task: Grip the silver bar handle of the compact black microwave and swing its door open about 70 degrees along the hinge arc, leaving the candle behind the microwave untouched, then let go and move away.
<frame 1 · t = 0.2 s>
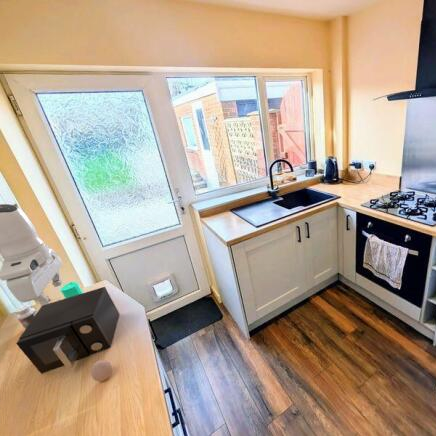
hand: (52, 293, 78), 26 cm above the countertop, tool pointing down, fingers open, 8 cm apart
microwave door: (52, 355, 79), point 8 cm above the countertop, hinge at 0.0°
microwave: (86, 339, 93), on the countertop
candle: (79, 304, 112), on the countertop
egg: (106, 377, 78), on the countertop
pill bottle: (35, 326, 102), on the countertop
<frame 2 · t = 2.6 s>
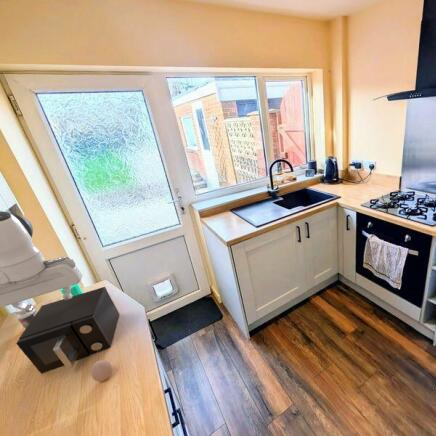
hand: (49, 304, 74), 25 cm above the countertop, tool pointing down, fingers open, 8 cm apart
nothing on the countertop moved.
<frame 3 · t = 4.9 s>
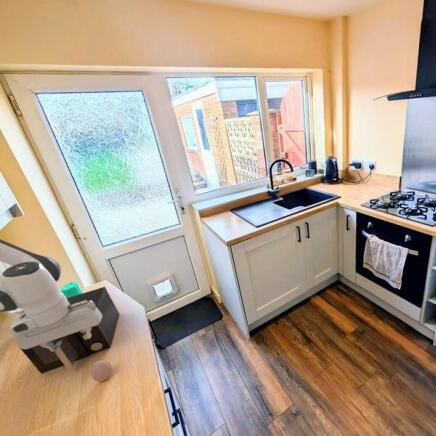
hand: (72, 343, 79), 10 cm above the countertop, tool pointing down, fingers open, 7 cm apart
microwave door: (52, 355, 79), point 8 cm above the countertop, hinge at 0.0°, touching gripper
everything else where it was.
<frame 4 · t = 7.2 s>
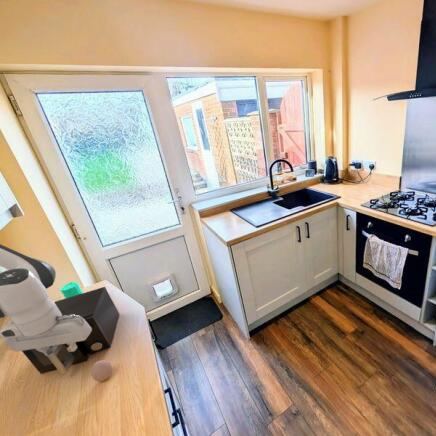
hand: (62, 351, 76), 10 cm above the countertop, tool pointing down, fingers open, 5 cm apart
microwave door: (49, 358, 78), point 8 cm above the countertop, hinge at 8.8°, touching gripper
everything else where it was.
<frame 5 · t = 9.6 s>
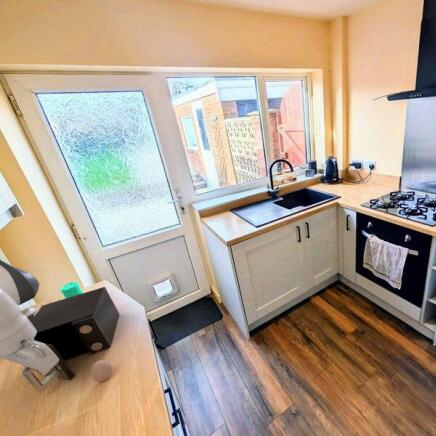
hand: (38, 370, 71), 10 cm above the countertop, tool pointing down, fingers open, 4 cm apart
microwave door: (35, 369, 75), point 8 cm above the countertop, hinge at 36.5°, touching gripper
everything else where it was.
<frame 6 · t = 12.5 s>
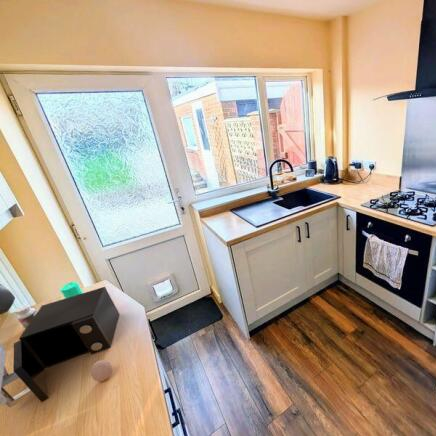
hand: (4, 391, 66), 10 cm above the countertop, tool pointing down, fingers open, 7 cm apart
microwave door: (17, 377, 73), point 8 cm above the countertop, hinge at 67.2°, touching gripper
everything else where it was.
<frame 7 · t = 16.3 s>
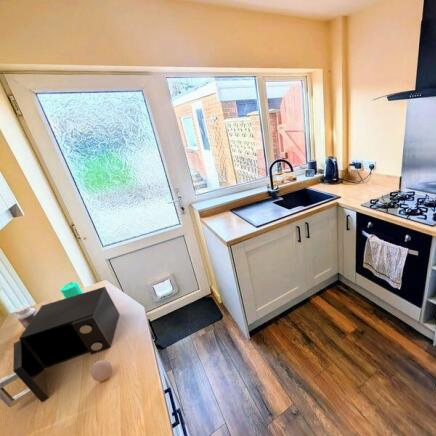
microwave door: (17, 377, 73), point 8 cm above the countertop, hinge at 67.2°
everything else where it was.
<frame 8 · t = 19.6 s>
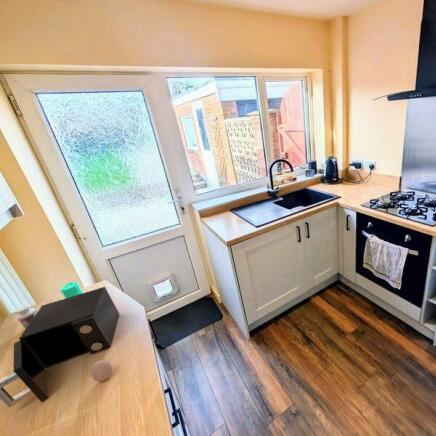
nothing on the countertop moved.
at the end: microwave door at +67° (first picture: +0°); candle moved 0.2 cm from its start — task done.
